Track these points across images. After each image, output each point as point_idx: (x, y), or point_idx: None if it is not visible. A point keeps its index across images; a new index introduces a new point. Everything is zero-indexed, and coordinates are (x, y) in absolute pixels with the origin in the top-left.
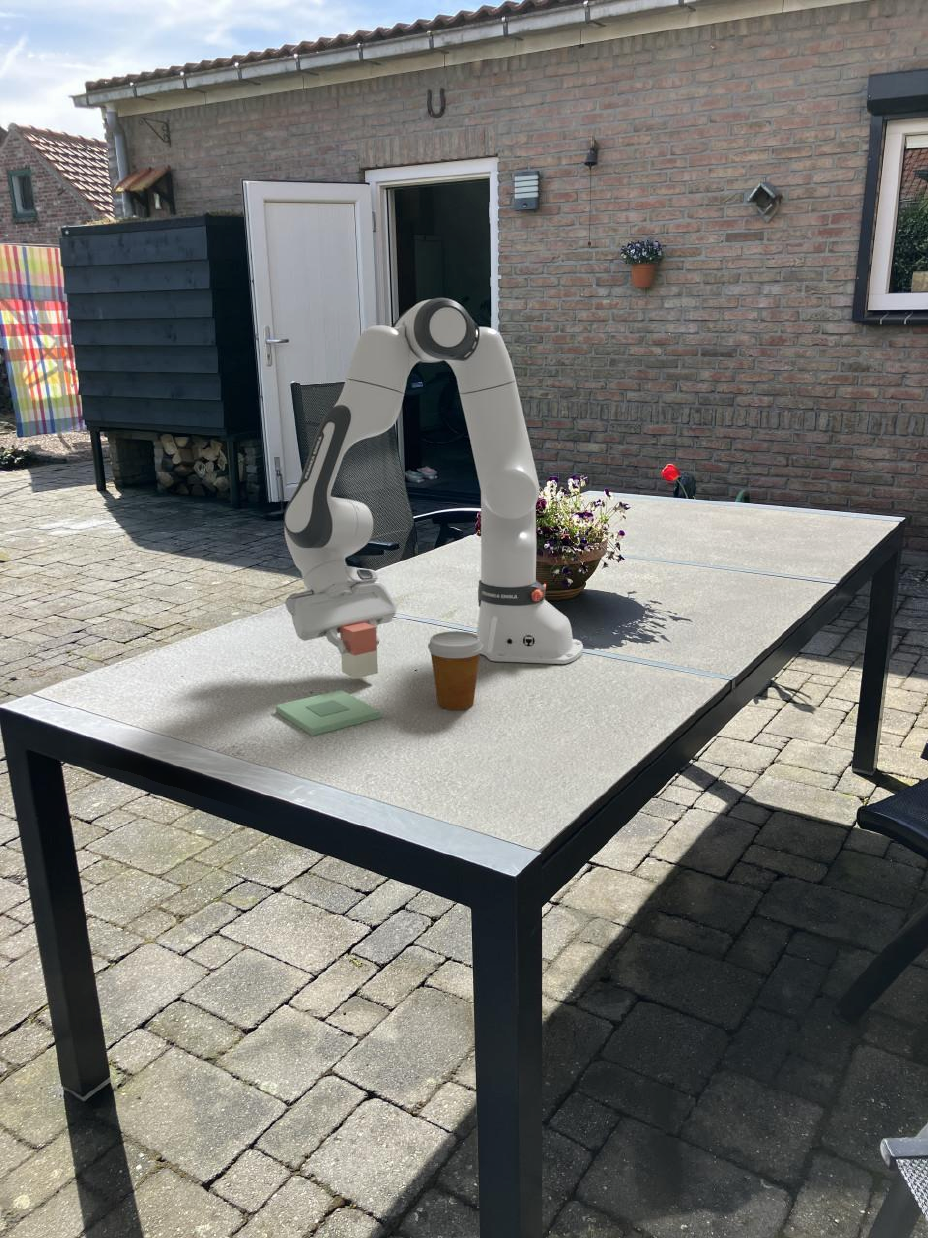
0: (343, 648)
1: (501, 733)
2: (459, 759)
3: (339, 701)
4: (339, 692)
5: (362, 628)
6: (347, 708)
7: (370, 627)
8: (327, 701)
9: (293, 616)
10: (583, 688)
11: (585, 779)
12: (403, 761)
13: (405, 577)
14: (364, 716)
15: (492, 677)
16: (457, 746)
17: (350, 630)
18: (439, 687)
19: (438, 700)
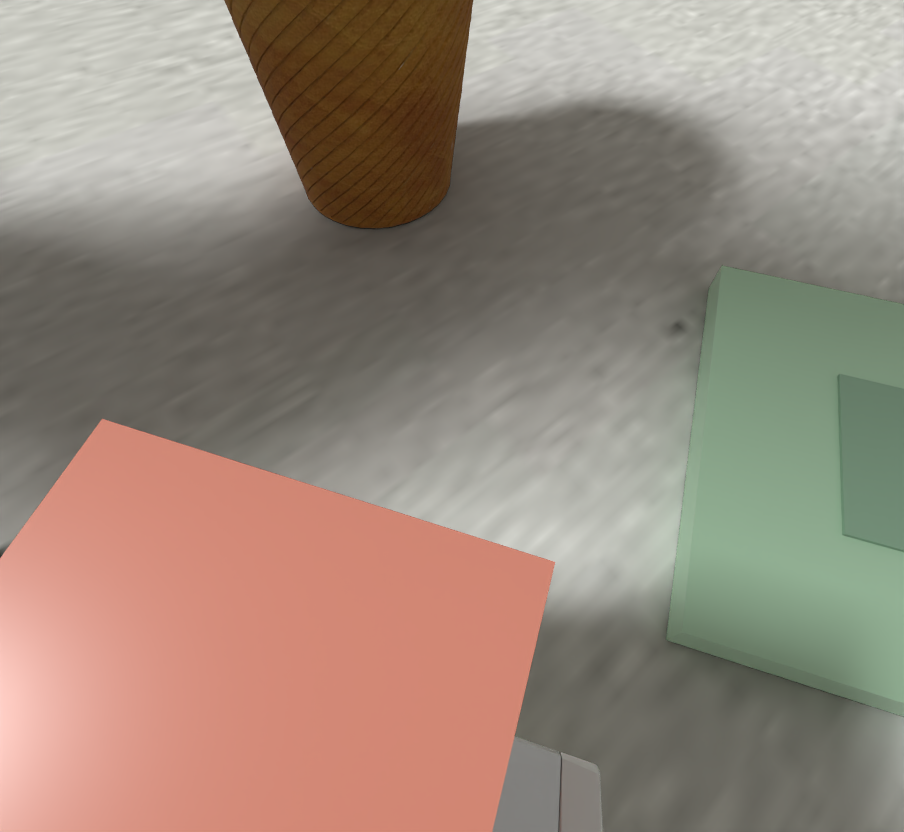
0: (598, 769)
1: (509, 18)
2: (726, 14)
3: (818, 492)
4: (727, 602)
5: (273, 561)
6: (845, 383)
7: (151, 482)
8: (894, 544)
9: None
10: (48, 16)
11: None
12: (870, 78)
13: None
14: (810, 288)
15: (13, 218)
16: (669, 44)
17: (508, 695)
18: (458, 103)
19: (440, 183)
